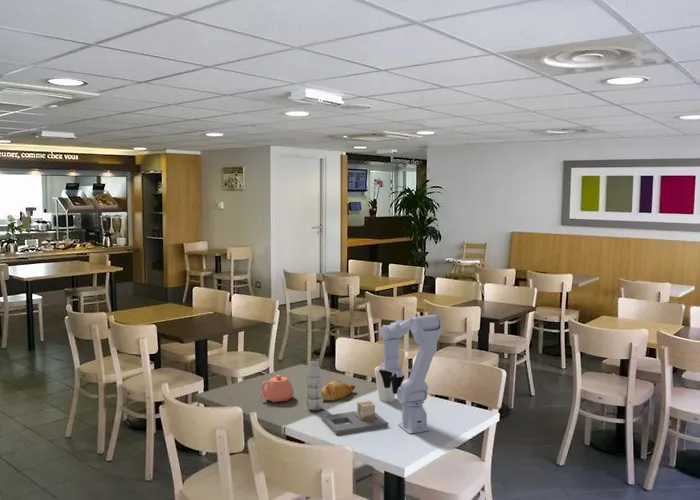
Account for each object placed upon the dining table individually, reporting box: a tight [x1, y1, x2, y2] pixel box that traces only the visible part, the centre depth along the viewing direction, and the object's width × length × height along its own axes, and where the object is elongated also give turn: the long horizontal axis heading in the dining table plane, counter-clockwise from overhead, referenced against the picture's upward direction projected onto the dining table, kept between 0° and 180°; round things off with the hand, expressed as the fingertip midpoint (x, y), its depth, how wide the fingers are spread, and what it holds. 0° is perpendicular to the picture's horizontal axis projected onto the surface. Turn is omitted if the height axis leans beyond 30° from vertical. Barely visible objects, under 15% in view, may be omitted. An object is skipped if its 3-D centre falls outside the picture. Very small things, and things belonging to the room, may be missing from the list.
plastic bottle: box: [305, 358, 324, 411], centre depth 240 cm, size 6×7×20 cm
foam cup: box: [374, 365, 396, 403], centre depth 251 cm, size 10×9×13 cm
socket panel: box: [321, 410, 389, 436], centre depth 225 cm, size 16×20×2 cm
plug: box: [356, 400, 376, 422], centre depth 226 cm, size 5×5×7 cm
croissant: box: [321, 380, 356, 402], centre depth 256 cm, size 21×10×8 cm, turn 126°
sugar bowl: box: [260, 374, 295, 404], centre depth 253 cm, size 12×14×10 cm
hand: (391, 390), depth 233 cm, fingers open, 7 cm apart
